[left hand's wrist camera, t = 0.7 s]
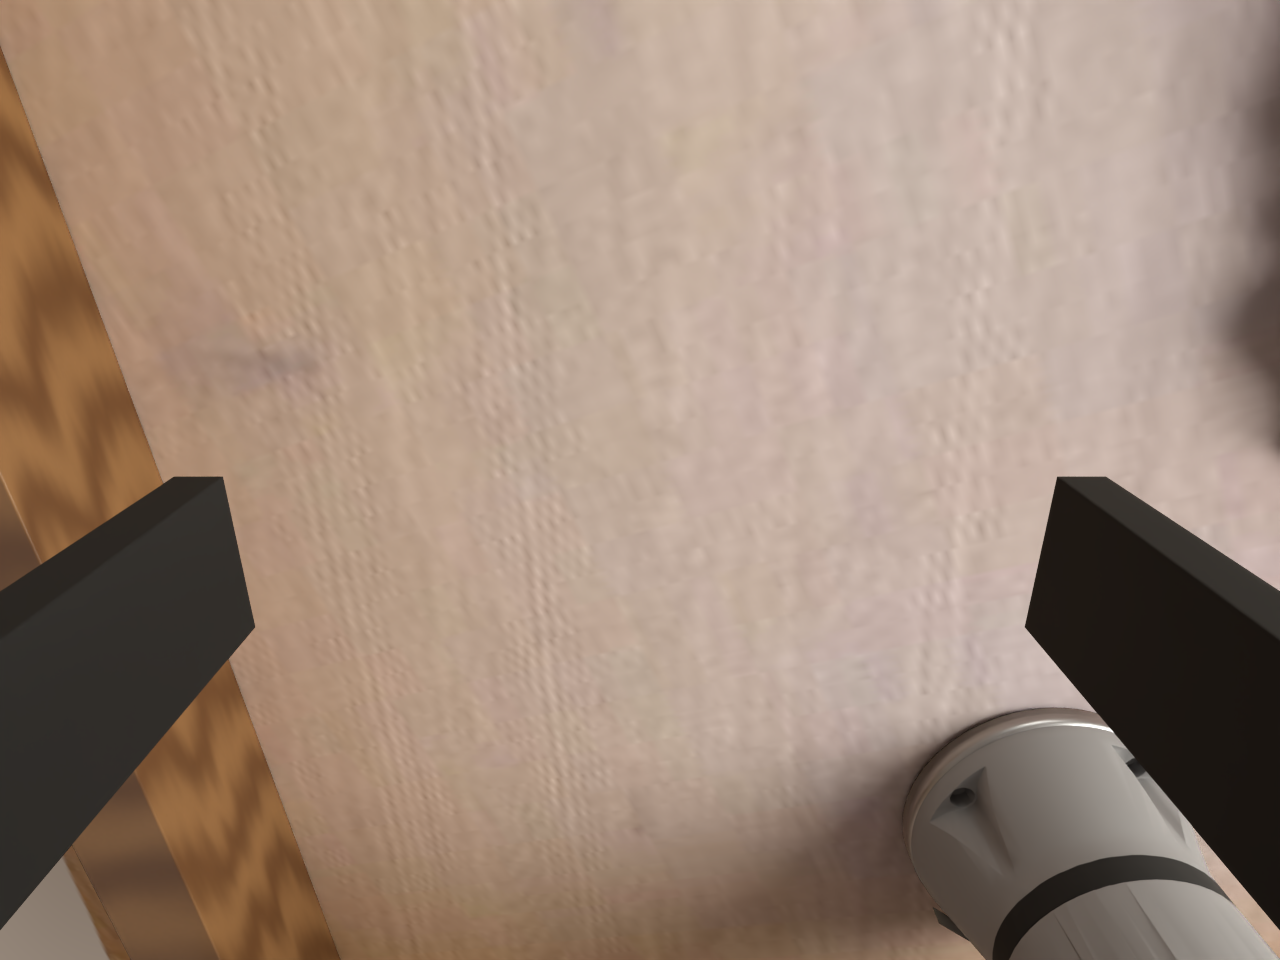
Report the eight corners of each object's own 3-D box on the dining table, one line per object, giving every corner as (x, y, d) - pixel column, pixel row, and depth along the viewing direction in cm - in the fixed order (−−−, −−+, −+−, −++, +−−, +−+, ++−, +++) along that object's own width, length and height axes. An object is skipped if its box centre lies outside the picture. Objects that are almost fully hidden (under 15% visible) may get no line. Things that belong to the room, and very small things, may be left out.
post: (-177, -114, 30) (-477, -220, 22) (-65, -131, 29) (-325, -244, 22) (280, 979, 52) (215, 1125, 44) (346, 974, 52) (292, 1119, 44)
